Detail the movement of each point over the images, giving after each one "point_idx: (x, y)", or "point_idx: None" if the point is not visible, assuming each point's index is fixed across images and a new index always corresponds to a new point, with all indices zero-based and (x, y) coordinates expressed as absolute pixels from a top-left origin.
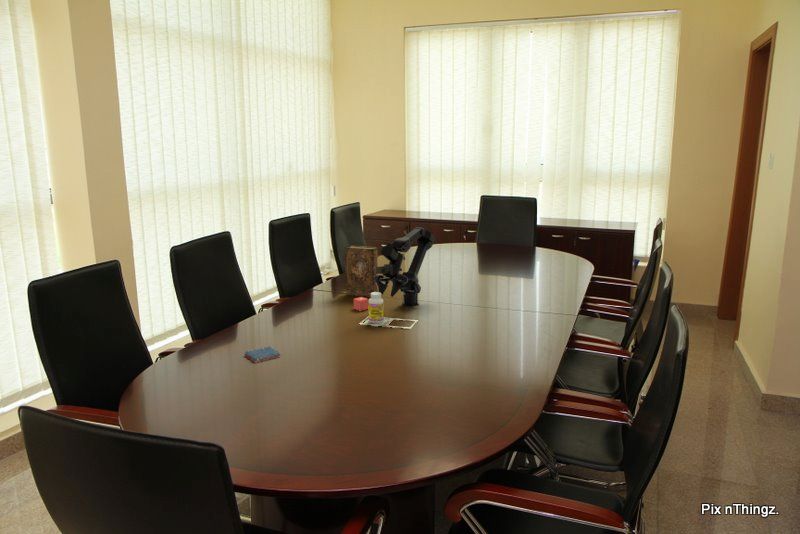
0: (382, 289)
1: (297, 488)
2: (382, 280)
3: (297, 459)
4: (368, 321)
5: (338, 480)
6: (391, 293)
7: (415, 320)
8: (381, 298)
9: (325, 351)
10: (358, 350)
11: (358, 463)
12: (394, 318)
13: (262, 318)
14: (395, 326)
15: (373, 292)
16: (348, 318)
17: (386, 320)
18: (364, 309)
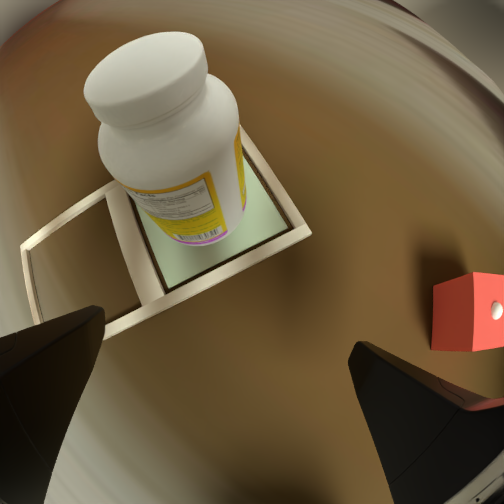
0: (402, 429)
1: (47, 8)
2: (501, 492)
3: (56, 5)
4: None
5: (29, 21)
6: (76, 313)
7: None
8: (115, 143)
9: (152, 13)
10: (91, 50)
11: (22, 29)
12: (147, 316)
13: (461, 60)
14: (70, 213)
15: (185, 54)
16: (361, 155)
17: (167, 261)
18: (435, 319)
